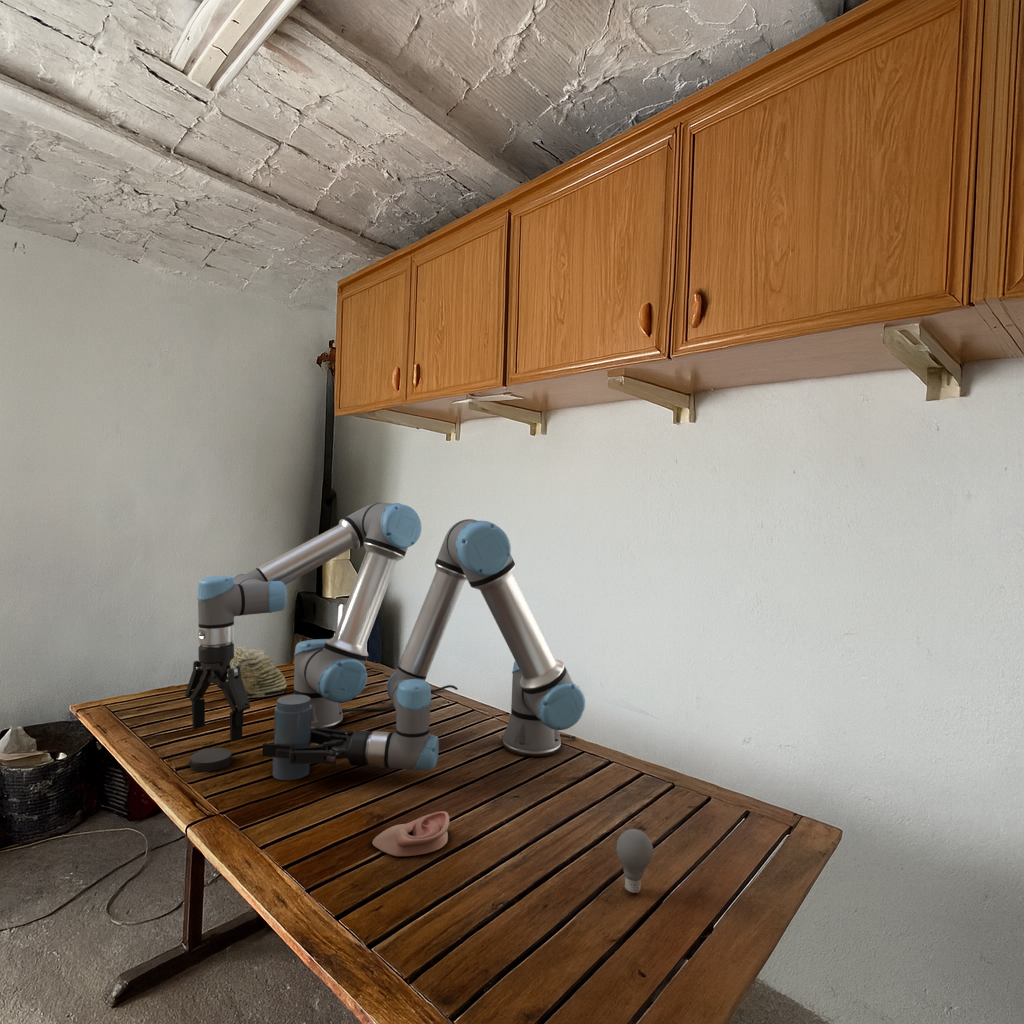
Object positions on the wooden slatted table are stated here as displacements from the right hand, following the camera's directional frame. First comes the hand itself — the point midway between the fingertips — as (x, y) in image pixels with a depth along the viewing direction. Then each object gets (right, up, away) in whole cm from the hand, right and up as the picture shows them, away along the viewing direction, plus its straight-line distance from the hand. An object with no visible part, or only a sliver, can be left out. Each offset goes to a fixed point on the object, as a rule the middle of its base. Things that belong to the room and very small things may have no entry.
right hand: (271, 742), depth 145 cm
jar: (+4, -7, 0) cm, 8 cm away
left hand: (-14, +1, +3) cm, 14 cm away
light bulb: (+75, -11, -39) cm, 85 cm away
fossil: (-26, -5, +53) cm, 59 cm away
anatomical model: (+36, -9, -27) cm, 46 cm away
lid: (-15, -4, +3) cm, 16 cm away
